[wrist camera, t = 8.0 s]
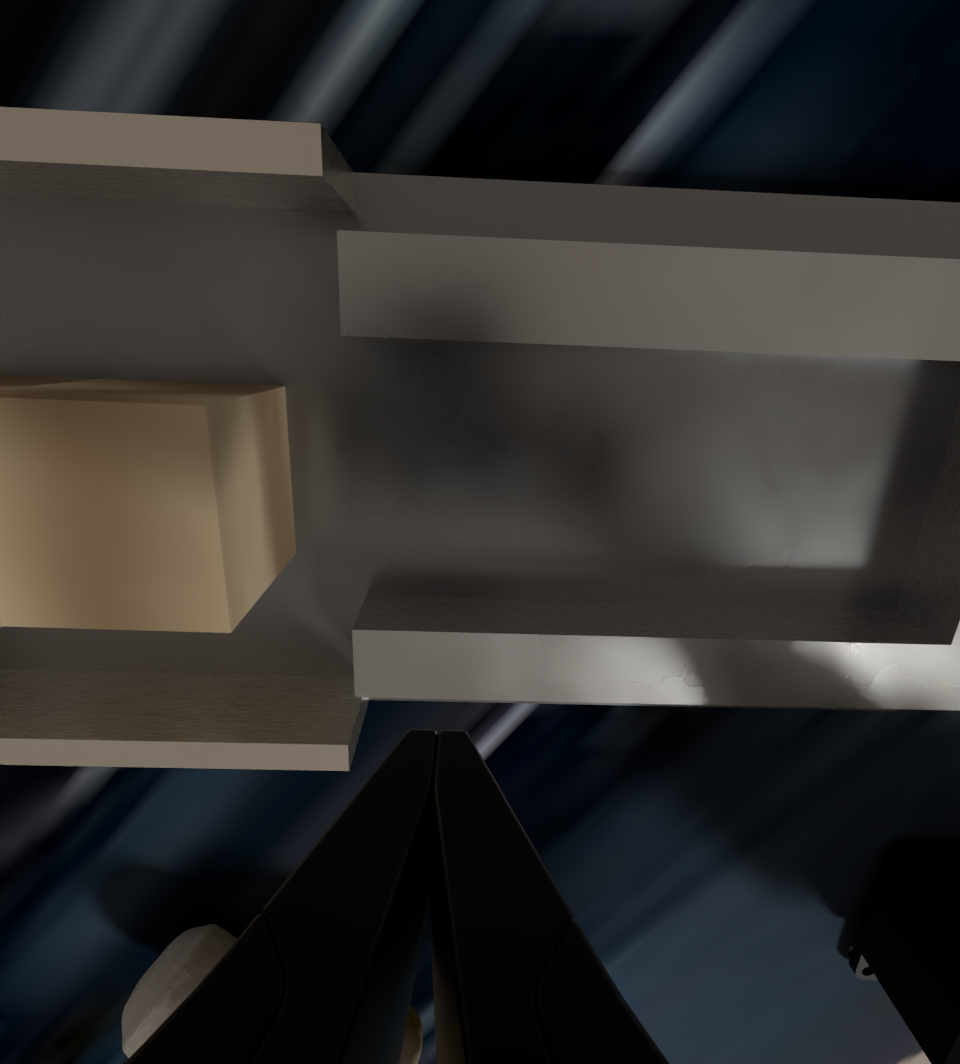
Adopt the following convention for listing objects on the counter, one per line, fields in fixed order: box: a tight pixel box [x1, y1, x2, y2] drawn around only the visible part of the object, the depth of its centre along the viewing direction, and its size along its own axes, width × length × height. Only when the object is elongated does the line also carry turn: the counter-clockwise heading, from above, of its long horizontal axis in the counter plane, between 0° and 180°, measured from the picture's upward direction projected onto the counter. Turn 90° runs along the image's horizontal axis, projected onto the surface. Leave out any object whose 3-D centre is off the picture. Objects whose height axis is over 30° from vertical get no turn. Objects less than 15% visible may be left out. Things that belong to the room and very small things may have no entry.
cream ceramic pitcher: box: [122, 924, 423, 1064], centre depth 19 cm, size 8×10×10 cm
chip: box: [0, 379, 296, 633], centre depth 13 cm, size 4×4×4 cm
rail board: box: [0, 107, 960, 771], centre depth 14 cm, size 30×14×4 cm, turn 88°
